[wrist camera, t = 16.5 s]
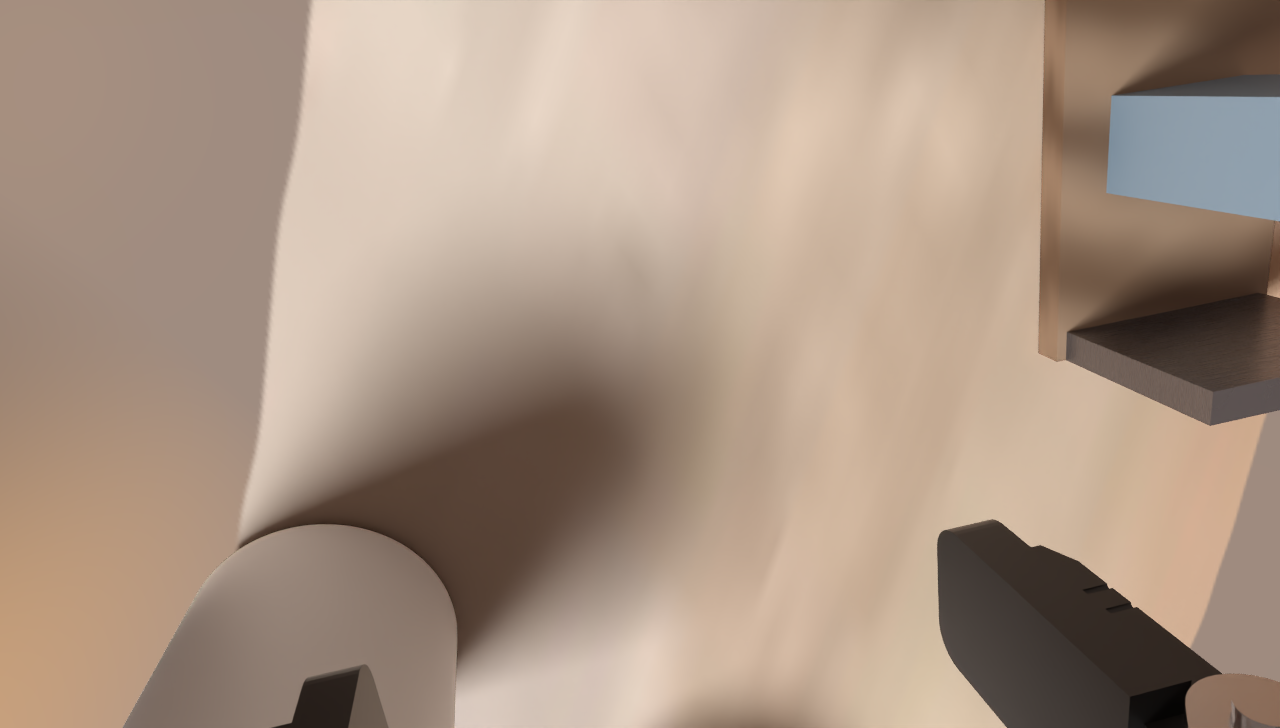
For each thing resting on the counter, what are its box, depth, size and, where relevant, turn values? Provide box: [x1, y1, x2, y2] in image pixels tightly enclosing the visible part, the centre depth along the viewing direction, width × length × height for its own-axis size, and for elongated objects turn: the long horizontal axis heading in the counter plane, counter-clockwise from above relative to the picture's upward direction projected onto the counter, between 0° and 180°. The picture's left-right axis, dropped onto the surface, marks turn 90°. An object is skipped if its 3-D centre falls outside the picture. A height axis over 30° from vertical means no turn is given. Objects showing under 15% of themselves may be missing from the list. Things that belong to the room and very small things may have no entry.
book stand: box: [1039, 0, 1280, 362], centre depth 41 cm, size 21×12×2 cm, turn 8°
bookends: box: [1066, 293, 1280, 426], centre depth 36 cm, size 21×11×9 cm, turn 8°
